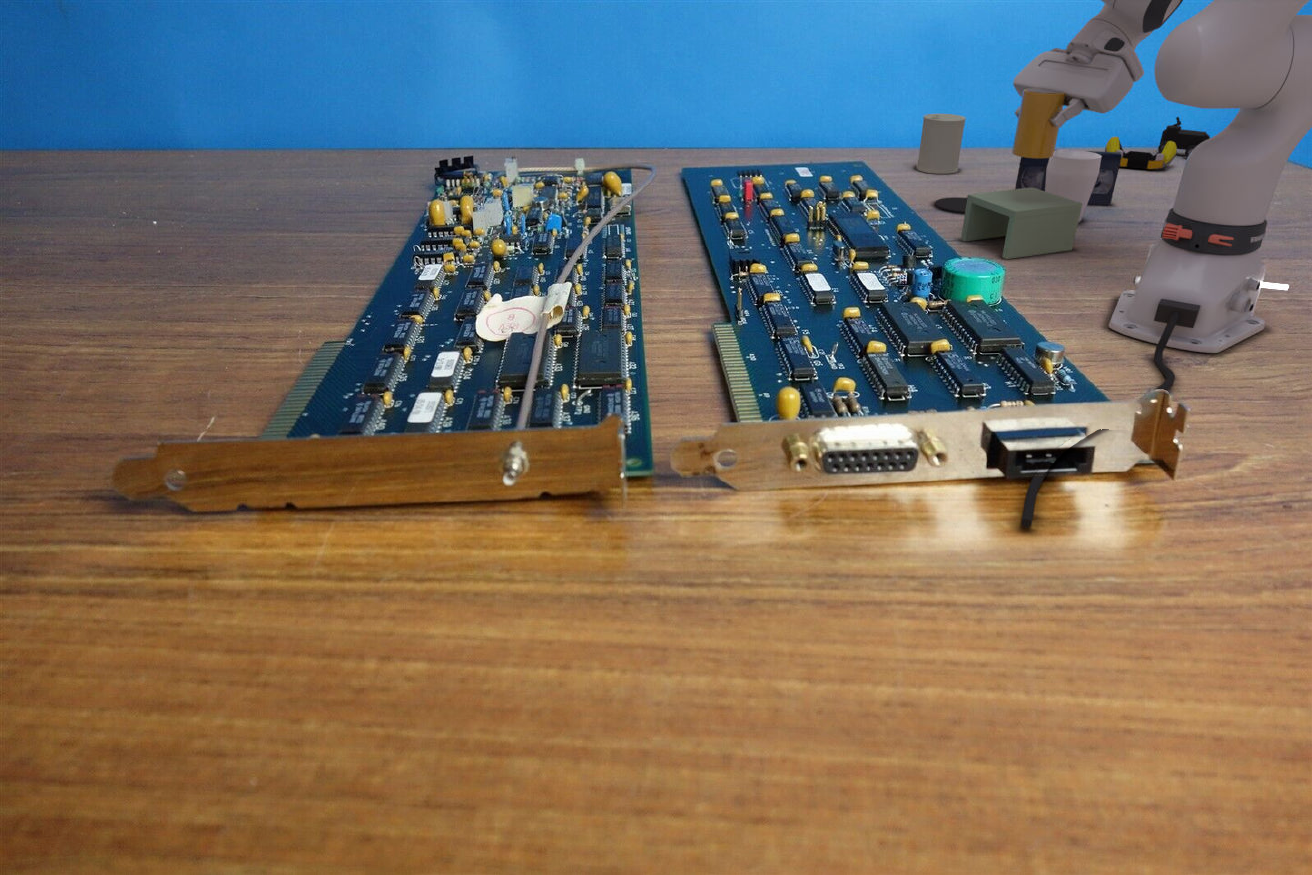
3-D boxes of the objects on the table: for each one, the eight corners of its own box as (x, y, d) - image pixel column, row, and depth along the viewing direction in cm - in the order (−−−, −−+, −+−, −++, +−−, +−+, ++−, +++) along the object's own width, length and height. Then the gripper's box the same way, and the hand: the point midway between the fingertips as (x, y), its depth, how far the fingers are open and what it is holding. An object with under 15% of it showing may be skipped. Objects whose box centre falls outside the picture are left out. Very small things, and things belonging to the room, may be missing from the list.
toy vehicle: (1161, 150, 234) (1170, 113, 229) (1228, 157, 226) (1239, 120, 222) (1154, 155, 228) (1164, 118, 224) (1223, 163, 220) (1234, 125, 216)
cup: (1092, 227, 172) (1107, 161, 166) (1040, 224, 174) (1054, 158, 168) (1082, 214, 180) (1096, 150, 174) (1033, 211, 182) (1046, 148, 176)
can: (907, 167, 215) (915, 113, 210) (939, 163, 219) (947, 110, 213) (934, 175, 208) (942, 119, 202) (966, 171, 211) (975, 116, 206)
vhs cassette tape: (1013, 200, 189) (1023, 150, 184) (1012, 197, 192) (1021, 147, 187) (1111, 206, 185) (1123, 155, 180) (1108, 202, 188) (1120, 152, 183)
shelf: (1023, 231, 170) (1031, 187, 166) (1072, 250, 160) (1082, 203, 156) (960, 239, 165) (967, 194, 161) (1006, 259, 155) (1015, 211, 151)
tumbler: (1044, 160, 151) (1057, 94, 146) (1005, 154, 155) (1016, 90, 150) (1059, 154, 155) (1072, 90, 150) (1021, 148, 159) (1032, 86, 154)
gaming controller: (1103, 158, 224) (1100, 166, 217) (1108, 135, 222) (1106, 142, 214) (1172, 165, 219) (1172, 173, 211) (1178, 140, 216) (1178, 148, 208)
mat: (977, 217, 178) (978, 214, 178) (924, 207, 184) (925, 204, 184) (1001, 206, 185) (1002, 203, 185) (949, 197, 191) (950, 194, 191)
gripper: (1041, 34, 157) (985, 98, 159) (1138, 45, 141) (1074, 117, 142) (1056, 61, 161) (1001, 123, 162) (1153, 75, 144) (1090, 145, 146)
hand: (1036, 120), depth 152 cm, fingers closed on tumbler, 6 cm apart
